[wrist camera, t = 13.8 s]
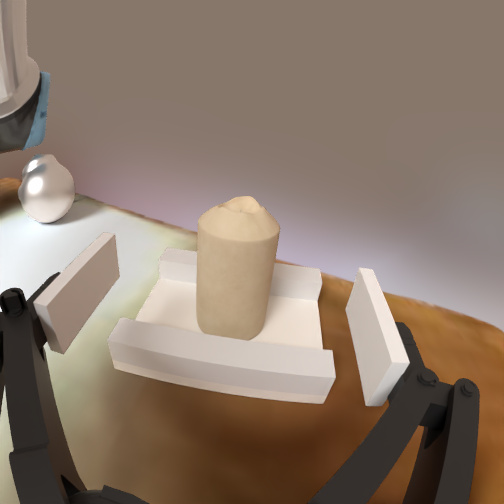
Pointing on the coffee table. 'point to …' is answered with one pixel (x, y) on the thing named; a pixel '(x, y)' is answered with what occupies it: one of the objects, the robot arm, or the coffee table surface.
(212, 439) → the coffee table surface
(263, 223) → the candle
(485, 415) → the coffee table surface
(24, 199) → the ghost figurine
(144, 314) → the tray
